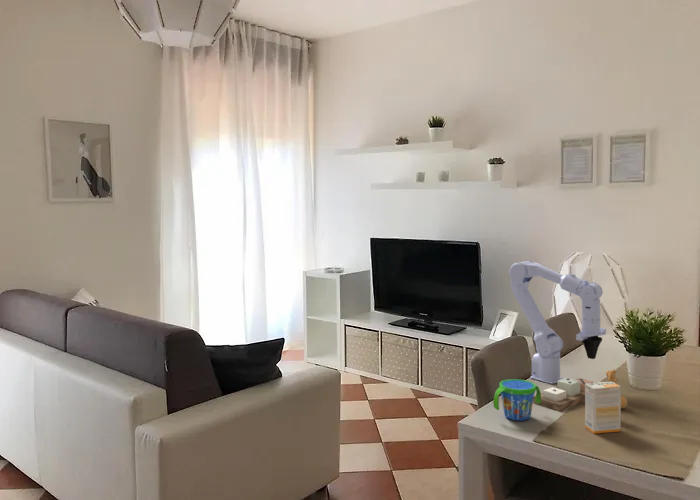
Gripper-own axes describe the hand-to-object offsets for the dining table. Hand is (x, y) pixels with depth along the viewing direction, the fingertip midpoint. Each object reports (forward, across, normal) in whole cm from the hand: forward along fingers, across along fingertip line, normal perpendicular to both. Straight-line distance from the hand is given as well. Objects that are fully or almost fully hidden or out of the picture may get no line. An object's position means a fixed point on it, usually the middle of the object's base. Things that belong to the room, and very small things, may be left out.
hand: (591, 358), depth 198 cm
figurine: (+11, -11, -15) cm, 22 cm away
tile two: (+9, -15, -1) cm, 17 cm away
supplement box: (+11, -30, -22) cm, 39 cm away
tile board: (+10, -15, -1) cm, 18 cm away
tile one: (+10, -23, -1) cm, 25 cm away
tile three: (+10, -8, -1) cm, 13 cm away
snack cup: (+10, -41, -2) cm, 42 cm away
